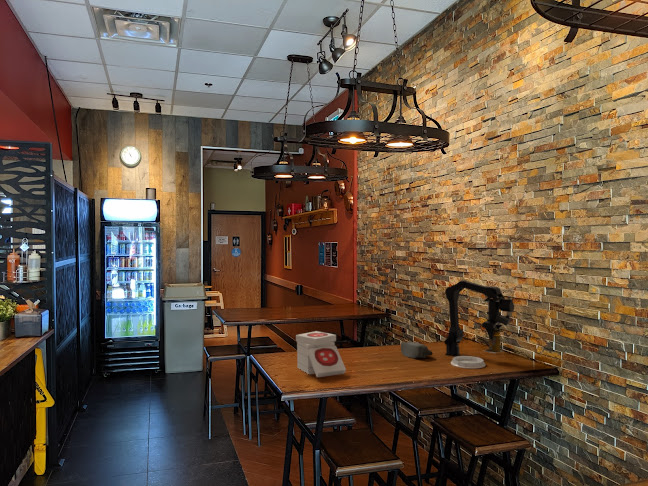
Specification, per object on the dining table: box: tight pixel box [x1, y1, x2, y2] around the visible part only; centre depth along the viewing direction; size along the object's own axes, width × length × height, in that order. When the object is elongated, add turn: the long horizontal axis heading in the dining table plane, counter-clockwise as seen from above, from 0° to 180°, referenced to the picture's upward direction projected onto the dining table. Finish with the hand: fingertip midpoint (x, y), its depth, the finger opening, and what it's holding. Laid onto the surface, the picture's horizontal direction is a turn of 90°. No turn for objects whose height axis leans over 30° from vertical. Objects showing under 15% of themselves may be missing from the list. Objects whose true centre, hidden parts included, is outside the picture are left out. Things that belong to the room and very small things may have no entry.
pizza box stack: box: [295, 330, 347, 378], centre depth 252 cm, size 19×30×18 cm, turn 24°
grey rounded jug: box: [400, 340, 434, 359], centre depth 283 cm, size 18×11×8 cm, turn 32°
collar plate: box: [450, 355, 487, 370], centre depth 264 cm, size 18×18×2 cm
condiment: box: [482, 329, 503, 354], centre depth 267 cm, size 7×8×12 cm
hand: (493, 338), depth 267 cm, fingers closed on condiment, 6 cm apart
